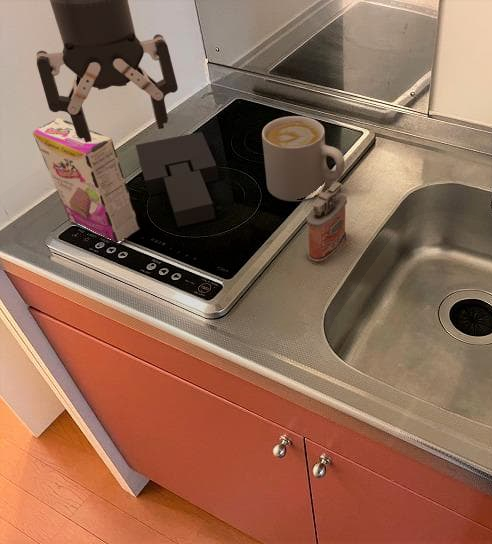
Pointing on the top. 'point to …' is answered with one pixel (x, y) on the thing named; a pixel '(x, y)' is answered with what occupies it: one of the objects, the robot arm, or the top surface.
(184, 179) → the tab pad
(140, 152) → the notch mat
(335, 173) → the coffee mug
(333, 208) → the lighter
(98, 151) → the candy bar box
